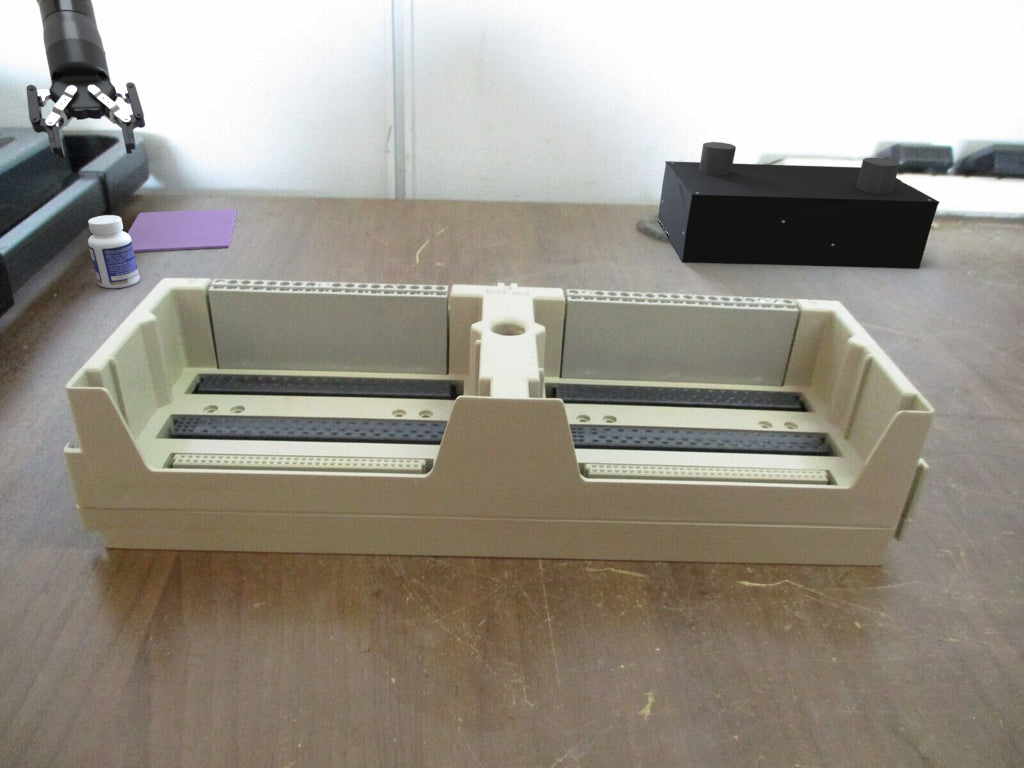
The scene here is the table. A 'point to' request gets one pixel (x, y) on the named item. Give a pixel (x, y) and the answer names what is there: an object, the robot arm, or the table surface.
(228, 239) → the cloth
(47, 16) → the robot arm
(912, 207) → the control box
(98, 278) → the pill bottle
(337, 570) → the table surface
